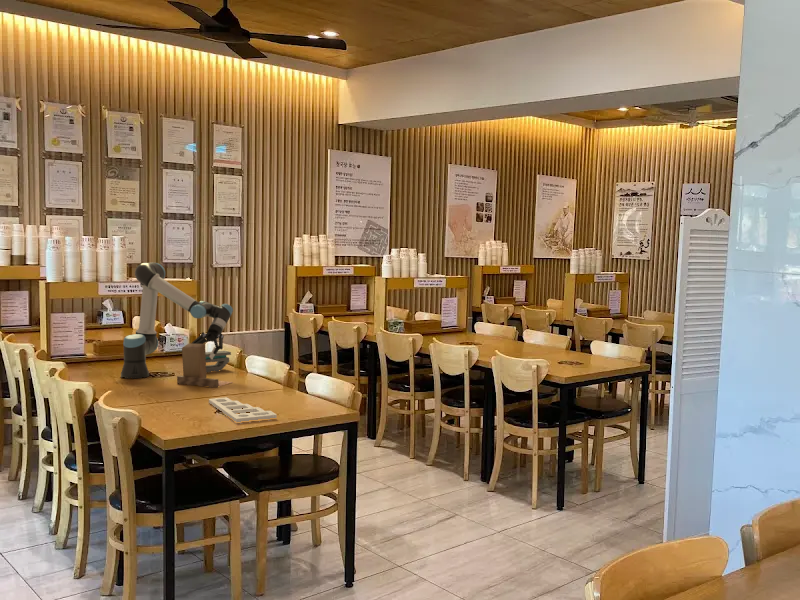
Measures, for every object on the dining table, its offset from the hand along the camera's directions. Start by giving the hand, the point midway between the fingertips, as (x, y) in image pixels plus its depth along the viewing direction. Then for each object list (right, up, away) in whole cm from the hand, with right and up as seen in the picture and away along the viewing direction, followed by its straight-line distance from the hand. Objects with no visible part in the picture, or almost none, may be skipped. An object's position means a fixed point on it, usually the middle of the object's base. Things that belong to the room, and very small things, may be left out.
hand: (200, 357), depth 408 cm
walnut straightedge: (+2, -14, -12) cm, 18 cm away
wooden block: (-2, -13, -1) cm, 13 cm away
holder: (+38, -20, -72) cm, 83 cm away
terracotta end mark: (+10, -14, -7) cm, 19 cm away
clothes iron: (-4, -11, +33) cm, 35 cm away
